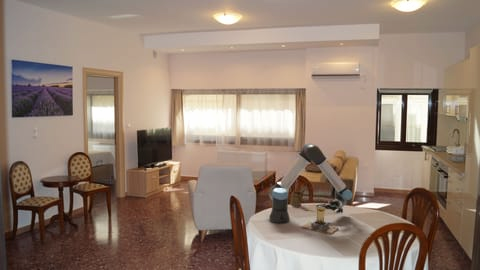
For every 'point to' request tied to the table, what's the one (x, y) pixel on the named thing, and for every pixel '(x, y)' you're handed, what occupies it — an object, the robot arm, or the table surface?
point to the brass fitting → (320, 215)
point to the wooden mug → (296, 197)
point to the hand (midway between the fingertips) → (325, 211)
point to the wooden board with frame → (320, 227)
